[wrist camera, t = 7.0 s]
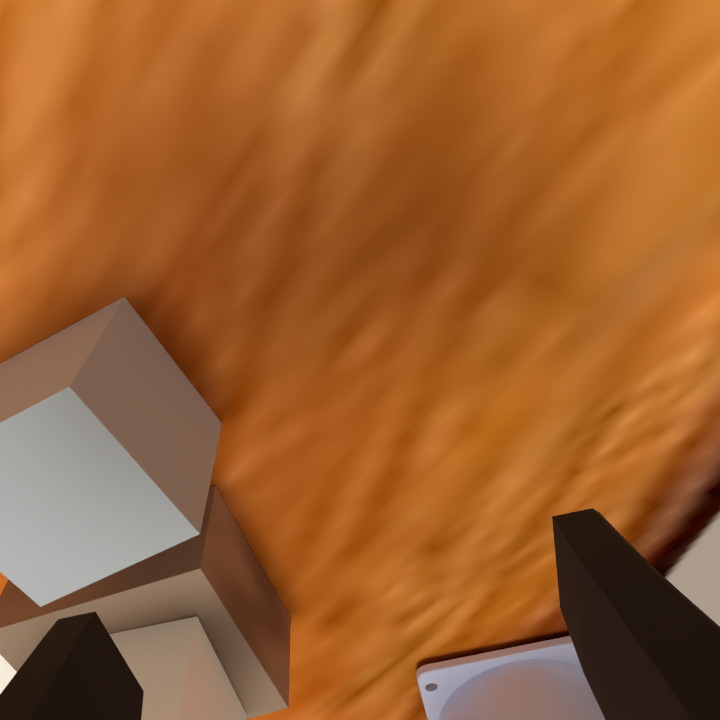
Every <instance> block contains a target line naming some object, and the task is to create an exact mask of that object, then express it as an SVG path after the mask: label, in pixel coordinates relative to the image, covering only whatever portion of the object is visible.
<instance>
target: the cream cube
mask: <svg viewBox="0 0 720 720" xmlns="http://www.w3.org/2000/svg"><path fill="white" fill-rule="evenodd" d="M109 635H110V636H111V638H112V640H113V641H114V643H115V645H116V646H117V648H118V650H119V651H120V653H121V654H122V656H123V658H124V659H125V661H126V663H127V664H128V666H129V668H130V669H131V671H132V673H133V674H134V676H135V678H136V679H137V681H138V683H139V684H140V686H141V687H142V689H143V691H144V695H143V705H142V716H141V720H246V715H247V714H246V712H245V710H244V708H243V706H242V704H241V702H240V700H239V698H238V697H237V695H236V693H235V691H234V689H233V687H232V685H231V683H230V681H229V679H228V677H227V675H226V673H225V671H224V669H223V667H222V665H221V663H220V661H219V659H218V657H217V655H216V653H215V651H214V649H213V647H212V645H211V643H210V641H209V639H208V637H207V635H206V633H205V631H204V629H203V627H202V625H201V623H200V621H199V619H198V617H197V616H196V617H191V618H186V619H181V620H176V621H171V622H166V623H162V624H157V625H152V626H147V627H142V628H137V629H132V630H127V631H122V632H118V633H113V634H109Z"/></svg>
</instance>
